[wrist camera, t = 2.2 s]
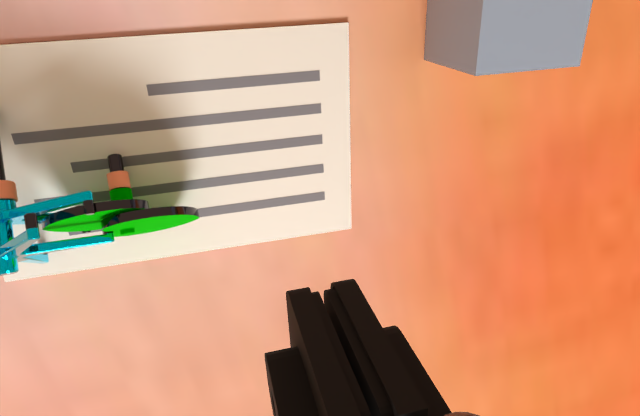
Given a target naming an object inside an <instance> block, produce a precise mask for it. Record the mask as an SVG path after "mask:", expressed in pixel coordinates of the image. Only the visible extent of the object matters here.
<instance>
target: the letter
mask: <svg viewBox="0 0 640 416" xmlns="http://www.w3.org/2000/svg"><path fill="white" fill-rule="evenodd" d="M0 141H1V148H2V155H3V162H4V169H5V176H6V180H9V181H13V182H15V184H16V190H17V197H18V201H17V202H16V206H17V207H21V206H25V205H29V204H33V203H37V202H41V201H46V200H50V199H54V198H58V197H62V196H66V195H70V194H75V193H79V192H83V191H91V192H92V195H93V201H94V203H97V202H104V201H111V199H110V193H109V192H110V191H109V187H108V181H107V174H108V173H110V170H109V165H108V159H107V157H108V156H109V155H111V154H120V155H122V160H123V166H124V171H127V172H128V173H129V179H130V185H131V190H132V196H133V199H140V200H146V201H148V203H149V208H157V207H170V206H187V207H194V208H196V209H198V212H199V217H200V218H199V219H197V220H194V221H192V222H189V223H186V224H183V225H180V226H176V227H172V228H168V229H164V230H160V231H155V232H149V233H144V234H137V235H130V236H121V237H114V239H115V241H114V242H112V243H106V244H100V245H94V246H87V247H81V248H75V249H69V250H63V251H57V252H51V253H48V258H49V262H48V263H43V264H41V263H26V262H18V268H19V271H18V272H17V273H14V274H10V275H3V277H4V280H5V282H9V281H15V280H22V279H28V278H35V277H41V276H48V275H54V274H61V273H67V272H74V271H80V270H87V269H93V268H99V267H106V266H112V265H119V264H125V263H132V262H138V261H145V260H151V259H158V258H164V257H171V256H177V255H184V254H190V253H196V252H203V251H209V250H216V249H222V248H229V247H235V246H242V245H248V244H255V243H261V242H268V241H274V240H281V239H287V238H293V237H300V236H306V235H313V234H319V233H326V232H332V231H339V230H345V229H352V228H351V154H350V80H349V22H346V23H330V24H315V25H299V26H284V27H268V28H252V29H237V30H221V31H206V32H190V33H174V34H159V35H143V36H128V37H112V38H97V39H81V40H65V41H50V42H34V43H19V44H3V45H0ZM81 205H83V203H82V204H78V205H74V206H71V207H67V208H63V209H59V210H56V211H52V212H48V213H55V212H58V211H61V210H64V209H68V208H72V207H76V206H81ZM12 226H13V233H14V238H15V237H17V236H18V235H20V234H21V233H23V232H25V231H26V228H25V224H15V225H12ZM38 226H39V233H40V239H39V240H37V241H36V242H35V243H33V244H38V243H45V242H52V241H59V240H66V239H73V238H80V237H87V236H95V235H102V234H103V233H102V229H99V230H91V232H90V233H87V234H83V233H82V231H77V232H53V231H45V230H42V225H41V224H38Z"/></svg>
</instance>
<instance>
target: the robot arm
mask: <svg viewBox="0 0 640 416" xmlns="http://www.w3.org/2000/svg"><path fill="white" fill-rule="evenodd" d="M286 300H287V311H288V322H289V333H290V344H291V348H287V349H282V350H278V351H273V352H268V353H265V363H266V371H267V378H268V385H269V392H270V398H271V404H272V409H273V415H274V416H479V415H476V414H472V413H468V412H454V413H452V412H451V411H450V409H449V408H448V406H447V404H446V403H445V401H444V400H443V398H442V396H441V395H440V393H439V392H438V390H437V388H436V387H435V385H434V383H433V382H432V380H431V379H430V377H429V375H428V374H427V372H426V371H425V369H424V367H423V366H422V364H421V363H420V361H419V359H418V358H417V356H416V355H415V353H414V351H413V350H412V348H411V347H410V345H409V343H408V342H407V340H406V338H405V337H404V335H403V334H402V332H401V331H400V329H399V328H398V327H396V326H390V327H386V328H382V326H381V325H380V323H379V321H378V319H377V318H376V316H375V314H374V312H373V311H372V309H371V307H370V305H369V304H368V302H367V300H366V298H365V297H364V295H363V293H362V291H361V290H360V288H359V286H358V284H357V283H356V281H355V280H354V279H350V280H344V281H339V282H334V283H331V289H329V290H325V291H324V303H323V300H322V298H321V296H320V294H319V292H313V293H311V290H310V288H309V287H307V288H301V289H296V290H291V291H287V292H286Z"/></svg>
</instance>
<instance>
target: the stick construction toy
mask: <svg viewBox="0 0 640 416" xmlns="http://www.w3.org/2000/svg"><path fill="white" fill-rule="evenodd" d="M107 159H108V165H109V170H110V173H108V174H107V181H108V187H109V191H110V192H109V193H110V199H111V201H104V202H97V203H94V201H93V195H92V192H91V191H83V192H79V193H75V194H70V195H66V196H62V197H58V198H54V199H50V200H46V201H41V202H37V203H33V204H29V205H25V206H21V207H17V206H16V202H17V201H18V197H17V190H16V184H15V182H13V181H9V180H6V176H5V169H4V162H3V155H2V148H1V141H0V276H3V275H10V274H14V273H17V272H18V271H19V268H18V262H26V263H41V264H43V263H48V262H49V258H48V253H51V252H57V251H63V250H69V249H75V248H81V247H87V246H94V245H100V244H106V243H112V242H114V241H115V239H114V237H121V236H130V235H137V234H144V233H149V232H155V231H160V230H164V229H168V228H172V227H176V226H180V225H183V224H186V223H189V222H192V221H194V220H197V219H199V218H200V217H199V212H198V209H196V208H194V207H187V206H170V207H157V208H149V203H148V201H146V200H140V199H133V196H132V190H131V185H130V179H129V173H128V172H127V171H124V166H123V160H122V155H120V154H111V155H109V156H108V157H107ZM82 203H83V205H81V206H76V207H72V208H68V209H64V210H61V211H58V212H55V213H48V212H52V211H56V210H59V209H63V208H67V207H71V206H74V205H78V204H82ZM15 224H25V228H26V231H25V232H23V233H21V234H20V235H18V236H17V237H15V238H14V233H13V226H12V225H15ZM38 224H41V225H42V230H45V231H53V232H77V231H82V233H83V234H87V233H90V232H91V230H99V229H102V233H103V234H102V235H95V236H87V237H80V238H73V239H66V240H59V241H52V242H45V243H38V244H33V243H35V242H36V241H37V240H39V239H40V233H39V226H38Z"/></svg>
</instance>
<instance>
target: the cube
mask: <svg viewBox="0 0 640 416" xmlns="http://www.w3.org/2000/svg"><path fill="white" fill-rule="evenodd" d="M592 2H593V0H427V14H426V33H425V51H424V60H426V61H430V62H433V63H436V64H439V65H442V66H446V67H449V68H452V69H455V70H458V71H462V72H465V73H468V74H471V75H474V76H479V75H490V74H500V73H511V72H522V71H533V70H544V69H554V68H565V67H576V66H580V62H581V57H582V52H583V47H584V42H585V37H586V32H587V27H588V22H589V17H590V12H591V7H592Z"/></svg>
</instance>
